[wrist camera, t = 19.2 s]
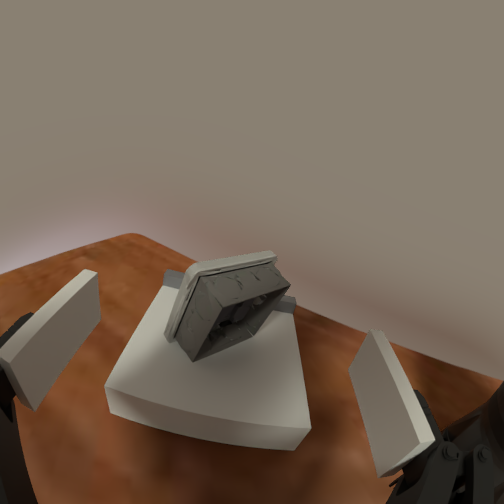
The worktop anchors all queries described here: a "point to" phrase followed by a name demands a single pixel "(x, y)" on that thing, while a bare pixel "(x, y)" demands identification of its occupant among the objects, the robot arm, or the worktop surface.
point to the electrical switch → (224, 302)
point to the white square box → (214, 381)
